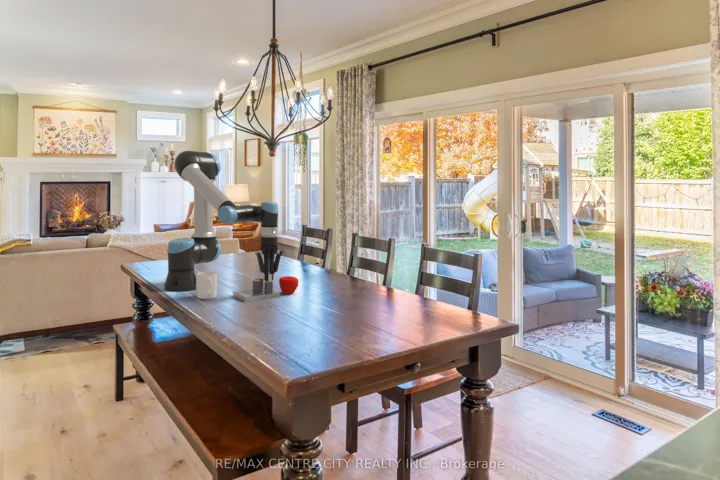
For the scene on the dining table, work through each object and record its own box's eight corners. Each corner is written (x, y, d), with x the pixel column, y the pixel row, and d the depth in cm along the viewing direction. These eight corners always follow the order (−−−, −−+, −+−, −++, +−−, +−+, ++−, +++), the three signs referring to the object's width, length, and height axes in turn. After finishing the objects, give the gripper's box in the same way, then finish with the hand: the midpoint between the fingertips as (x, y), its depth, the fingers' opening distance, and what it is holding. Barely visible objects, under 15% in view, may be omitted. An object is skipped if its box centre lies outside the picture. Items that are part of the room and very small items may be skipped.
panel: (233, 296, 217) (233, 291, 217) (267, 292, 228) (267, 287, 228) (244, 301, 208) (244, 297, 208) (280, 297, 219) (280, 292, 218)
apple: (301, 292, 229) (302, 276, 228) (291, 296, 221) (291, 279, 220) (285, 290, 233) (285, 274, 232) (275, 294, 225) (275, 277, 224)
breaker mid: (252, 291, 218) (252, 280, 217) (258, 291, 219) (258, 279, 219) (254, 292, 216) (254, 280, 215) (260, 292, 218) (260, 280, 217)
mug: (201, 301, 206) (201, 276, 205) (193, 296, 216) (193, 272, 215) (221, 299, 211) (221, 275, 209) (213, 294, 220) (213, 270, 219)
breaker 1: (255, 289, 223) (255, 278, 223) (261, 288, 225) (261, 277, 225) (257, 290, 222) (257, 279, 221) (263, 289, 224) (263, 278, 223)
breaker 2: (264, 292, 216) (264, 281, 216) (270, 292, 218) (270, 281, 218) (266, 293, 215) (266, 282, 214) (272, 293, 217) (272, 282, 216)
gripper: (260, 237, 212) (259, 290, 214) (286, 236, 220) (285, 287, 222) (252, 236, 218) (251, 287, 220) (278, 234, 226) (277, 284, 228)
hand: (268, 287), depth 221 cm, fingers closed
